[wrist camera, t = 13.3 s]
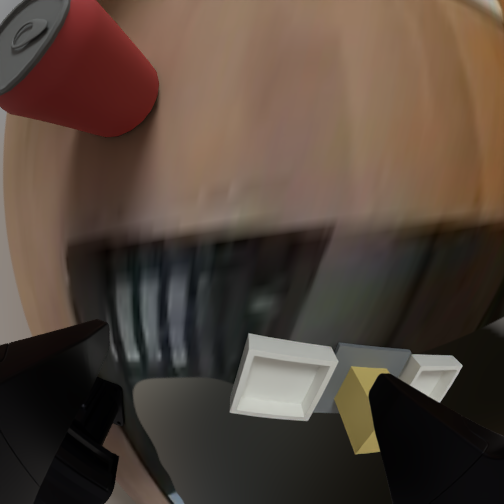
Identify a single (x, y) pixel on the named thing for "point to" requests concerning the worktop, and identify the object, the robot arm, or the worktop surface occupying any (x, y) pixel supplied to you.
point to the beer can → (73, 68)
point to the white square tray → (430, 374)
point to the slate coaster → (359, 358)
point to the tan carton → (358, 408)
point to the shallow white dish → (281, 378)
